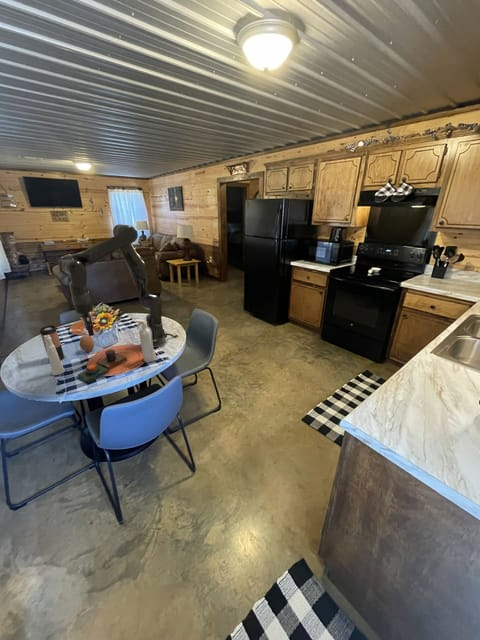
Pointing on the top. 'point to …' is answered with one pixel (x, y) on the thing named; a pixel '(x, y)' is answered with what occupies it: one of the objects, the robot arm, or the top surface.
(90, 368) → the button
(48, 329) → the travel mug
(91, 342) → the egg
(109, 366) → the panel
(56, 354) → the cosmetic bottle
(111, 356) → the knob
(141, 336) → the fire extinguisher
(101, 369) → the housing
